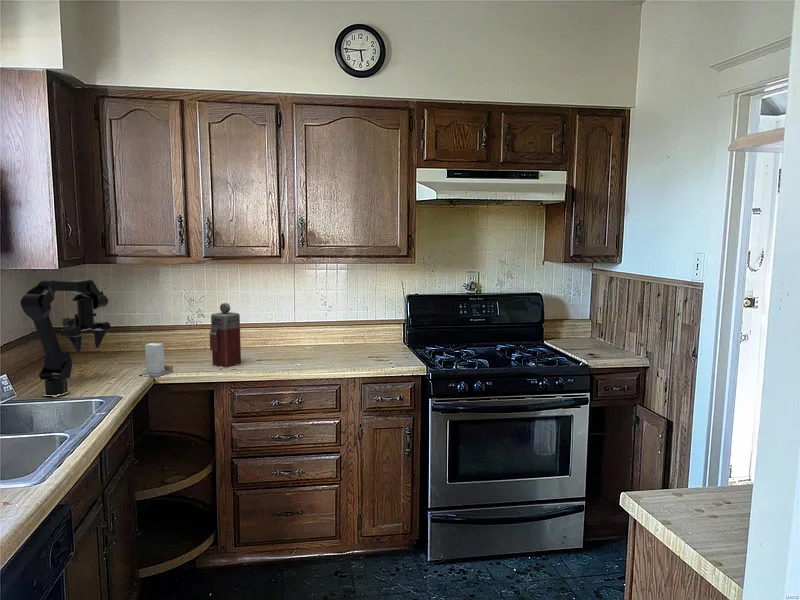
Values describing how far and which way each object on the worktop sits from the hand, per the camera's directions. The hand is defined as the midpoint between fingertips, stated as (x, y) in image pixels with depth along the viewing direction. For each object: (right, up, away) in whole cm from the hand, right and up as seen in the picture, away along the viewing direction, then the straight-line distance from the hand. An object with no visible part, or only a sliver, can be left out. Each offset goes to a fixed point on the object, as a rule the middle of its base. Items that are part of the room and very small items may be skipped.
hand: (87, 350), depth 227 cm
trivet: (+21, -11, +15) cm, 28 cm away
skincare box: (+21, -11, +15) cm, 28 cm away
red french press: (+45, -10, +31) cm, 56 cm away
